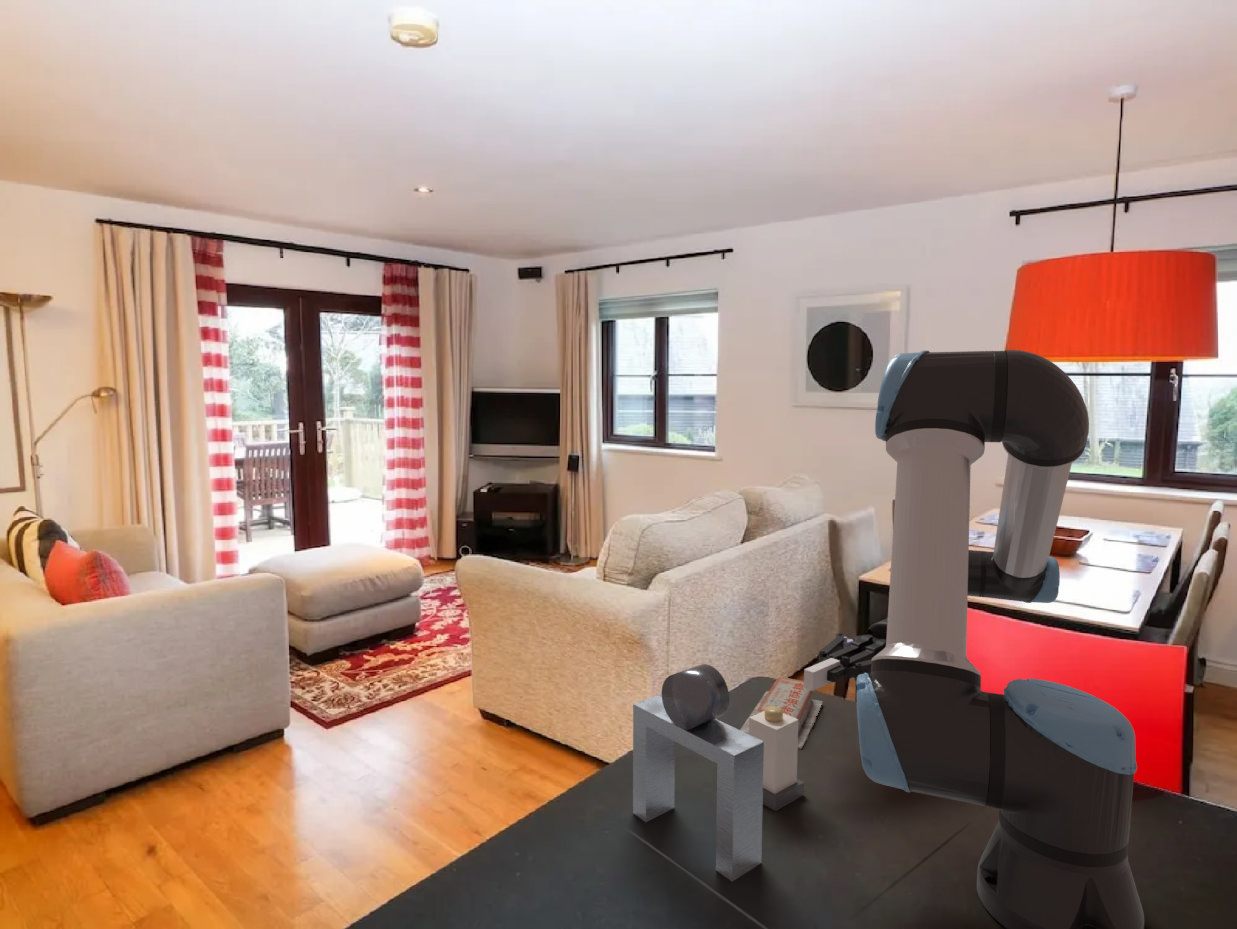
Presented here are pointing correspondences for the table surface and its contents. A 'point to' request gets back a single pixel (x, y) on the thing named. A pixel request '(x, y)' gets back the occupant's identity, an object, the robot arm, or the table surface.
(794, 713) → the packaged product
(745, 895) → the table surface
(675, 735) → the grey metal arch
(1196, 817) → the table surface
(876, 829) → the table surface
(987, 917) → the table surface
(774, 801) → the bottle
